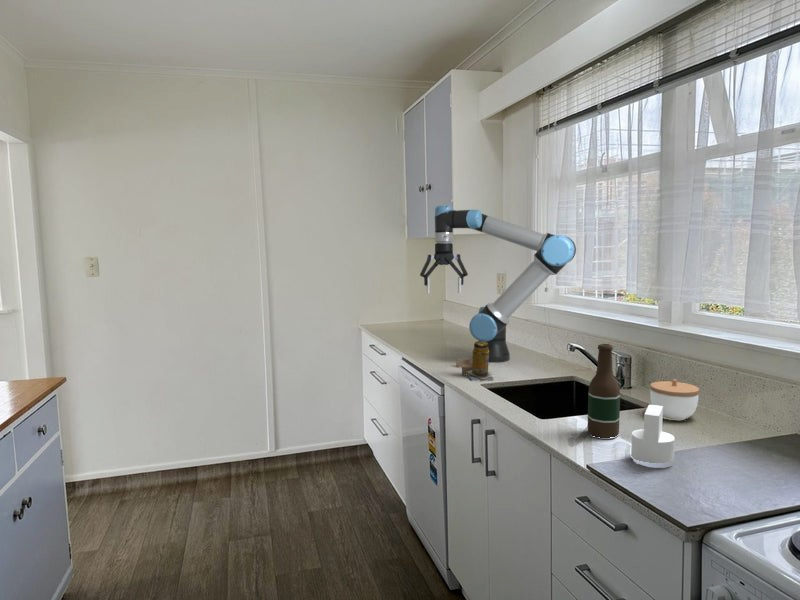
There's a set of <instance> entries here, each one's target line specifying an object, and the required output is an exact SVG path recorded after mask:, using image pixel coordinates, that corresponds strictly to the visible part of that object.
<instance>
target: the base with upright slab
mask: <svg viewBox="0 0 800 600" xmlns="http://www.w3.org/2000/svg"><path fill="white" fill-rule="evenodd" d="M643 414H644V417H643V418H644V419H643V421H644V422H643V423H644V424H643V429H635V430H633V431H632V432H631V449H630V451H631V452H630V453H631V456H632V457H633V458H634V459H636V460H639V461H643V462H649V463H666V462H670V461H673V459H674V460H675V446H676V445H675V444H676V443H675V441H676V439H675V436H674V435H672V434H671V433H668V432H665V431H663V420H664V419H663V406H658V405H652V404H648V406H647V408H646V410H645V412H644V413H643ZM631 456H630V457H631Z"/></svg>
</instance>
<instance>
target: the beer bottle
mask: <svg viewBox="0 0 800 600" xmlns="http://www.w3.org/2000/svg"><path fill="white" fill-rule="evenodd" d="M597 349H598V354H597V355H598V356H597V365H596V366H597V367H596V372H595V375H594V376H593V378H592V379H591V380H590V383H589V386H588V395H587V396H588V397H587V398H588V399H587V433H588V435H590V436H591V435H592V436H595V437H600V438H610V437H615V436H617V435H618V434H619V433H620V415H621V414H620V413H621V411H620V410H621V388H620V385H619V382H618V380H617V379H616V378H615V376H614V369H613V350H614V348H613V345H612V344H610V343H600V344H598V345H597ZM592 436H591V437H592ZM618 436H619V435H618ZM618 436H617V437H618ZM595 437H594V438H595Z"/></svg>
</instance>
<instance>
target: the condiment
mask: <svg viewBox="0 0 800 600" xmlns="http://www.w3.org/2000/svg"><path fill="white" fill-rule="evenodd" d="M473 345H474V347H473V350H472V358H471V359H473V360H472V370H470V371H467V372H468V373H470V374H472V375H474V376H477V377H479V378H481V379H486V378H489V377H491V376H492V377H493V376H495V375H497V374H496V373H495V372H493V371H490V370H489V363H490V362H489V350H488V345H489V344H488V343H487V342H484V341H479V340H476V341H475V342H474V344H473Z"/></svg>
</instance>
